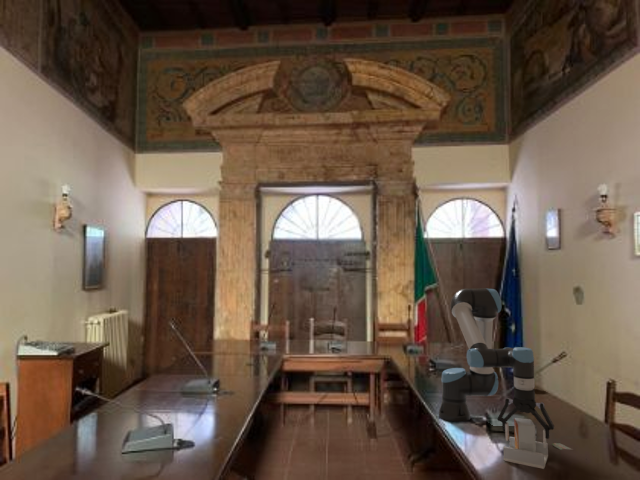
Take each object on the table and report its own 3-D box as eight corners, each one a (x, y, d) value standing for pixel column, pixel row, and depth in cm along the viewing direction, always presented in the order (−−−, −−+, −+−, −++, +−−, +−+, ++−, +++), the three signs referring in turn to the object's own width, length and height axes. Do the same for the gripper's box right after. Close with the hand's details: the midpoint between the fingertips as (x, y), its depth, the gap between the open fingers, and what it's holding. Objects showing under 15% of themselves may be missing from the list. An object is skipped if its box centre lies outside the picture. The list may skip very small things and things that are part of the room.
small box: (514, 450, 183) (513, 417, 183) (531, 452, 181) (530, 418, 182) (518, 459, 175) (517, 424, 175) (536, 460, 173) (535, 425, 174)
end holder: (503, 460, 176) (503, 447, 176) (510, 448, 187) (509, 436, 187) (544, 468, 168) (543, 455, 169) (548, 456, 180) (547, 443, 180)
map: (557, 443, 193) (557, 441, 193) (604, 463, 174) (604, 460, 174) (548, 445, 191) (548, 443, 191) (595, 465, 172) (595, 462, 173)
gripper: (488, 385, 183) (490, 439, 182) (558, 394, 170) (560, 453, 168) (492, 381, 189) (494, 434, 188) (560, 390, 176) (562, 446, 175)
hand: (525, 443), depth 178 cm, fingers open, 13 cm apart
